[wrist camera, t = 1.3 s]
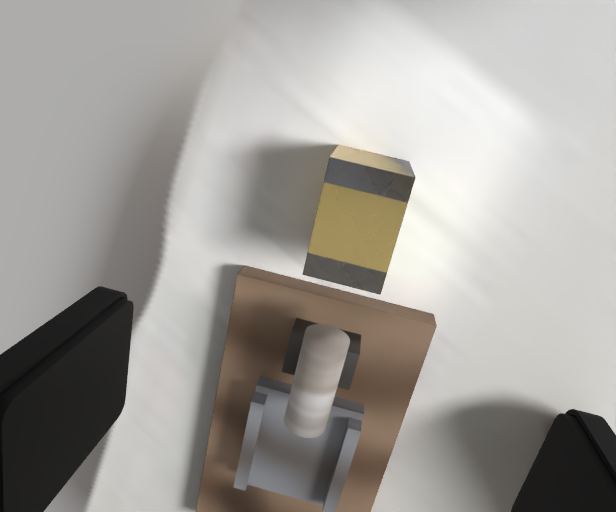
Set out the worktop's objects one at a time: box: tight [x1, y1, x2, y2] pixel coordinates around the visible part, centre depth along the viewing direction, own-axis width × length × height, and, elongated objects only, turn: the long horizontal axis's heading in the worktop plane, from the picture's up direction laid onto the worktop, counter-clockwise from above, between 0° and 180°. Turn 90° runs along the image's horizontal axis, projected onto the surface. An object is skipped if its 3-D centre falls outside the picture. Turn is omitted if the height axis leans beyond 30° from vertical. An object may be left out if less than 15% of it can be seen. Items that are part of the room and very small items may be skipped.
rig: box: [196, 266, 436, 512], centre depth 30 cm, size 21×12×6 cm, turn 168°
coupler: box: [303, 145, 415, 294], centre depth 25 cm, size 6×4×5 cm, turn 168°
